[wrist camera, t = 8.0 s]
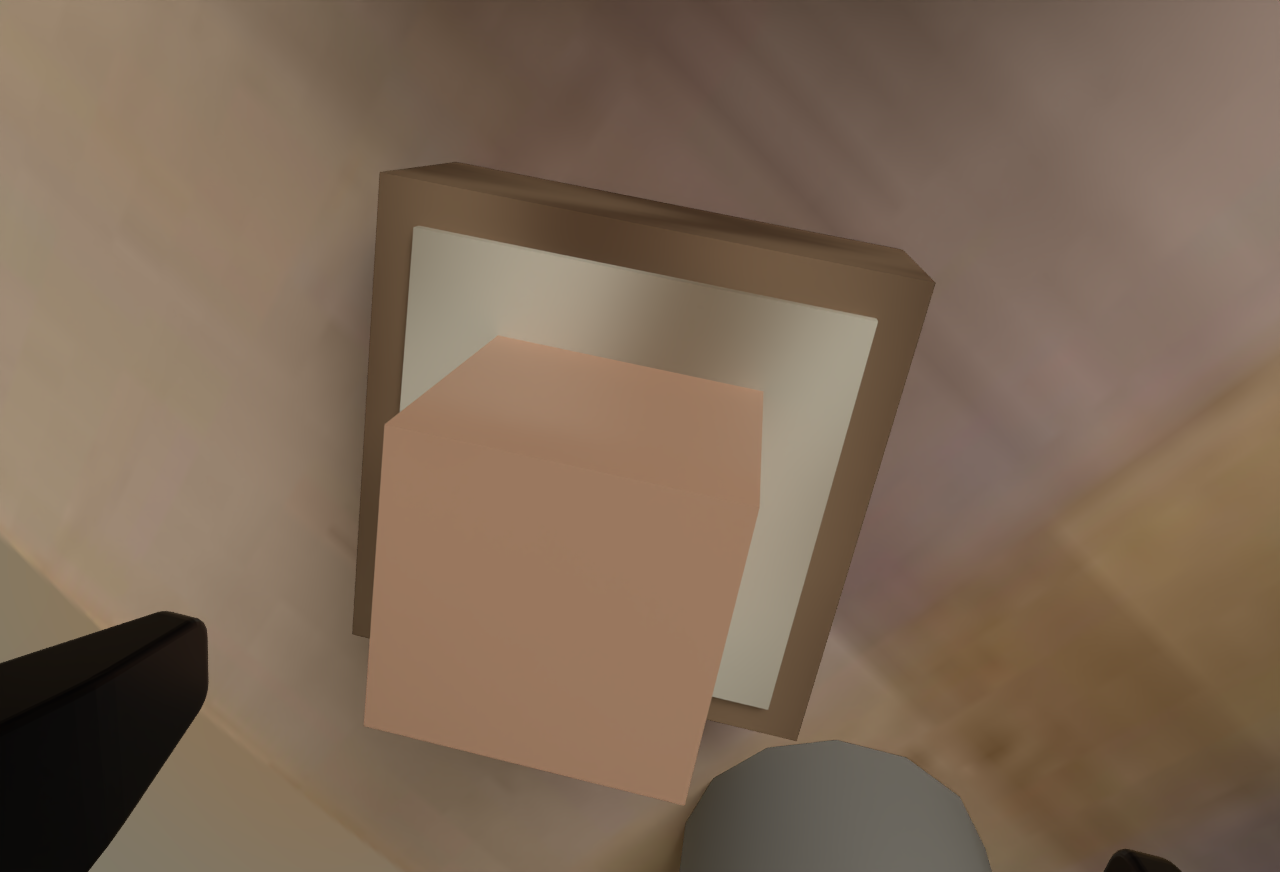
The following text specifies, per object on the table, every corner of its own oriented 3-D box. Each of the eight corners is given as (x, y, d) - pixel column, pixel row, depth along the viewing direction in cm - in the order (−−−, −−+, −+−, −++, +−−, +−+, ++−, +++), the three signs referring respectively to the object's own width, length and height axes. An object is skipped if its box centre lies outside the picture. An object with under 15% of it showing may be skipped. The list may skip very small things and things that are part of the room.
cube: (708, 622, 17) (684, 805, 13) (471, 567, 18) (364, 726, 13) (763, 391, 16) (759, 506, 11) (497, 335, 16) (383, 424, 11)
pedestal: (902, 249, 18) (938, 285, 14) (792, 636, 22) (796, 748, 18) (455, 162, 19) (373, 173, 15) (421, 550, 23) (346, 640, 19)
